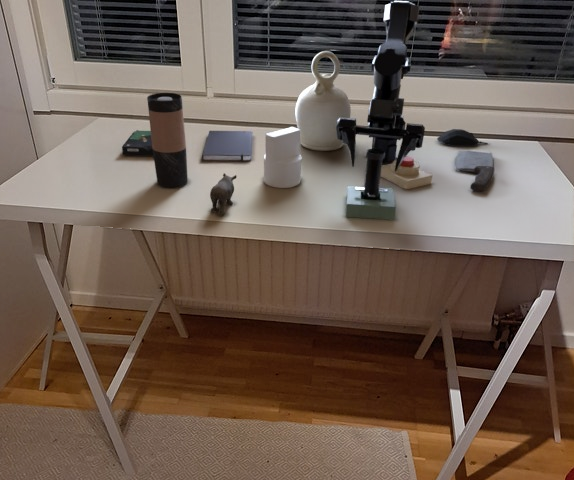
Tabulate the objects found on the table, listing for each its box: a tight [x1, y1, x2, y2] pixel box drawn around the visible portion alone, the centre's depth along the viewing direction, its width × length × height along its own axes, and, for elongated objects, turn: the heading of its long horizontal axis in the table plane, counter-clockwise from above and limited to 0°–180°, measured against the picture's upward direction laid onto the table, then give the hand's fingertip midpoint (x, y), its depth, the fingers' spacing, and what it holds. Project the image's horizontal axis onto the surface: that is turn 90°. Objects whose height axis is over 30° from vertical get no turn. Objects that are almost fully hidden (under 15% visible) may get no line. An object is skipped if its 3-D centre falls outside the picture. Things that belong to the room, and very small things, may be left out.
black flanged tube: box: [355, 148, 388, 200], centre depth 119 cm, size 7×7×13 cm
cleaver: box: [454, 150, 495, 192], centre depth 143 cm, size 29×10×2 cm, turn 163°
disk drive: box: [121, 129, 154, 157], centre depth 152 cm, size 10×3×15 cm
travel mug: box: [146, 92, 189, 189], centre depth 127 cm, size 8×8×20 cm
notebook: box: [202, 130, 254, 162], centre depth 154 cm, size 13×2×21 cm
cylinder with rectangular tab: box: [263, 126, 303, 189], centre depth 132 cm, size 9×9×12 cm
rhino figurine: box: [209, 172, 237, 216], centre depth 121 cm, size 4×14×6 cm, turn 171°
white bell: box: [295, 50, 352, 152], centre depth 152 cm, size 15×16×25 cm
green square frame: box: [345, 185, 396, 221], centre depth 122 cm, size 10×10×3 cm
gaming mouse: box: [437, 128, 488, 147], centre depth 162 cm, size 6×15×4 cm, turn 88°
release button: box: [400, 155, 415, 167], centre depth 135 cm, size 4×4×2 cm
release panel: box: [380, 160, 433, 190], centre depth 137 cm, size 11×8×4 cm
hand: (374, 168), depth 119 cm, fingers open, 9 cm apart
